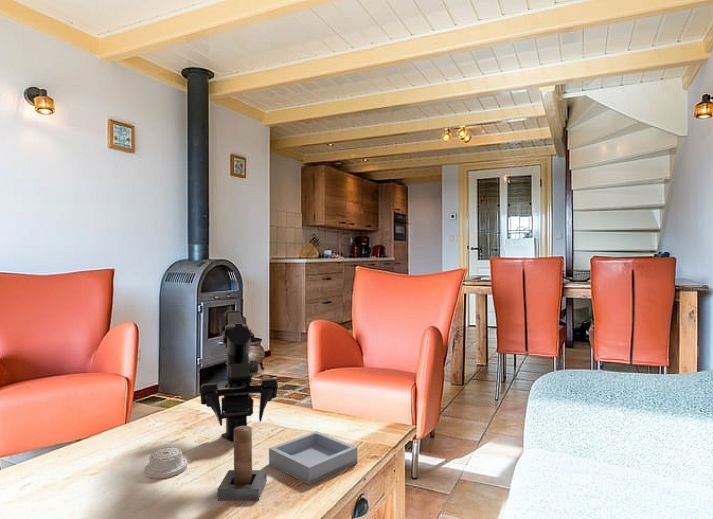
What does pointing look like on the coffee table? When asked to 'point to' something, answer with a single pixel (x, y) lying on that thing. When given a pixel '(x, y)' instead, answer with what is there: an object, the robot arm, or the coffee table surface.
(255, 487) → the gray square socket plate
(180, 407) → the coffee table surface
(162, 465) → the mechanical component
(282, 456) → the tray
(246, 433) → the pin
